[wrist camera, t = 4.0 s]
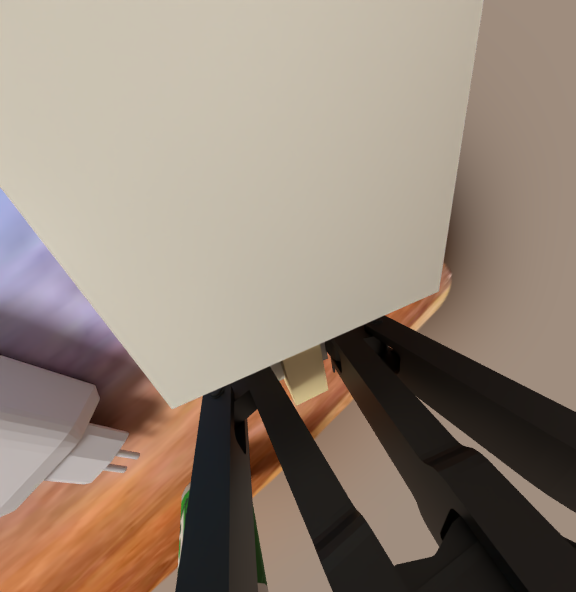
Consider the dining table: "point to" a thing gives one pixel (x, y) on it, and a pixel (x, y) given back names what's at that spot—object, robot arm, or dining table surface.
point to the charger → (50, 432)
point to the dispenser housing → (236, 166)
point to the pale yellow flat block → (305, 374)
